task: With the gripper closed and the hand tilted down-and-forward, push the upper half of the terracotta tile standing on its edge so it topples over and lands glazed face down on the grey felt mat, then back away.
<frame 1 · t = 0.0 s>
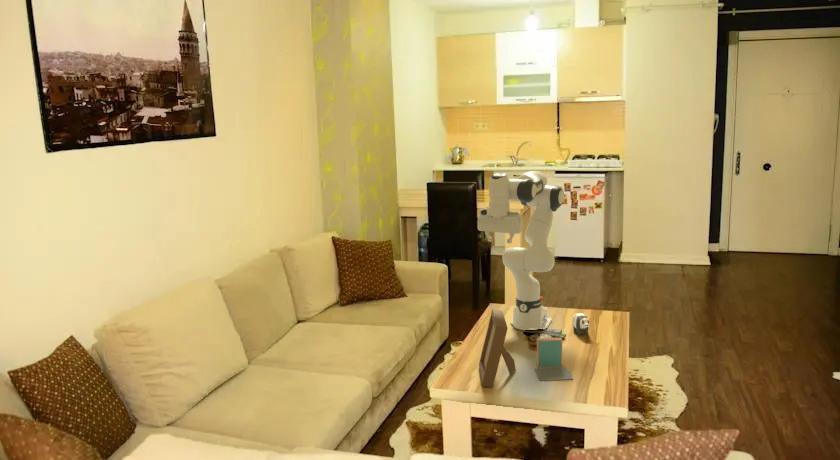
hand: (499, 242, 302), 48 cm above the table, tool pointing down, fingers open, 8 cm apart
mat: (553, 374, 278), on the table
giant panda: (581, 333, 325), on the table
photo frame: (498, 376, 278), on the table
tile: (549, 366, 286), on the table
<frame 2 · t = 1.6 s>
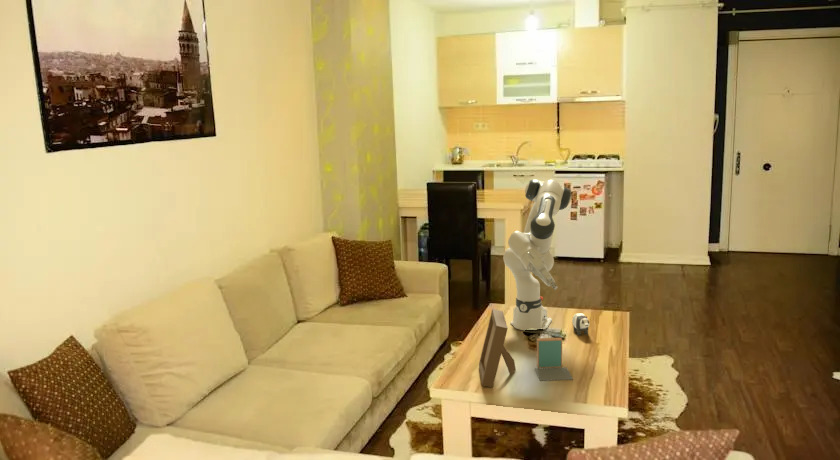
hand: (553, 283, 282), 35 cm above the table, tool tilted 60°, fingers open, 8 cm apart
nothing on the table moved.
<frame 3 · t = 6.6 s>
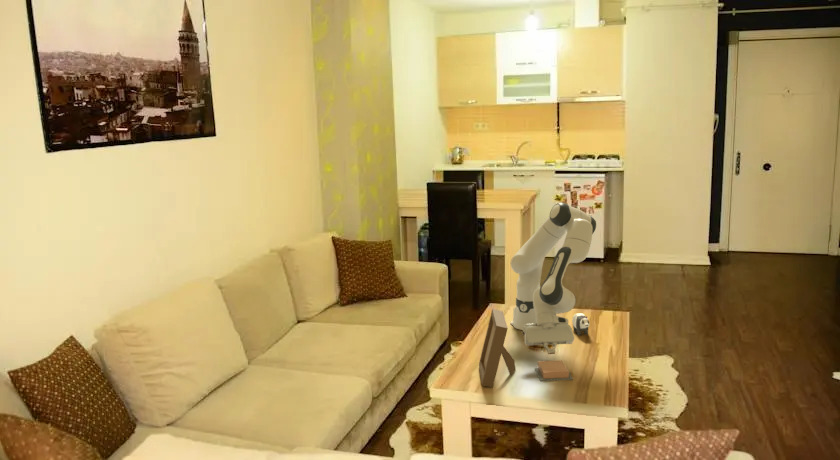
hand: (551, 353, 283), 7 cm above the table, tool tilted 45°, fingers closed
tile: (550, 363, 285), point 2 cm above the table, tilted 90°, touching mat
everything else where it was.
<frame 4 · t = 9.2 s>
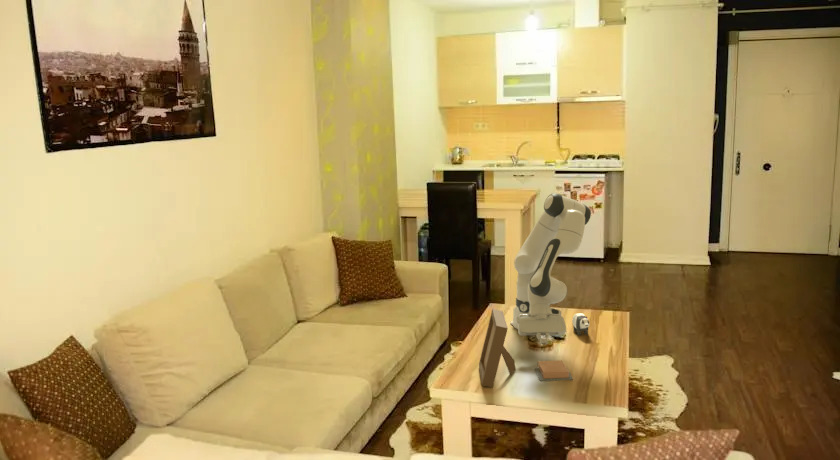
hand: (543, 343, 291), 8 cm above the table, tool tilted 45°, fingers closed
nothing on the table moved.
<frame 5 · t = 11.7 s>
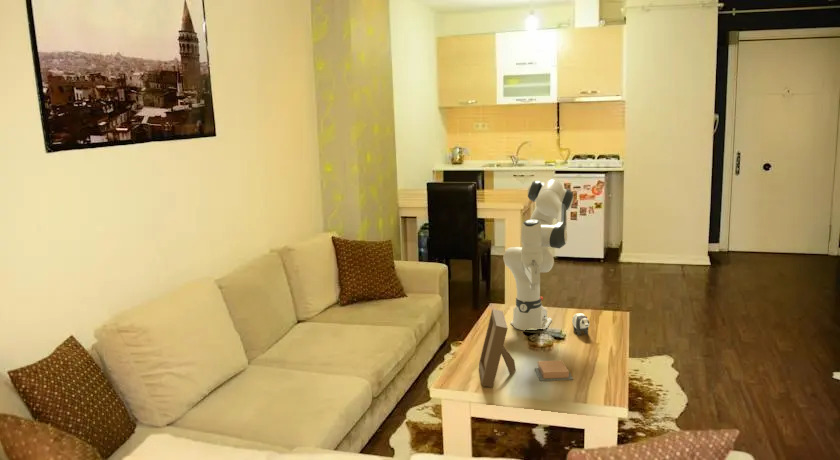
hand: (532, 289, 296), 29 cm above the table, tool pointing down, fingers closed
nothing on the table moved.
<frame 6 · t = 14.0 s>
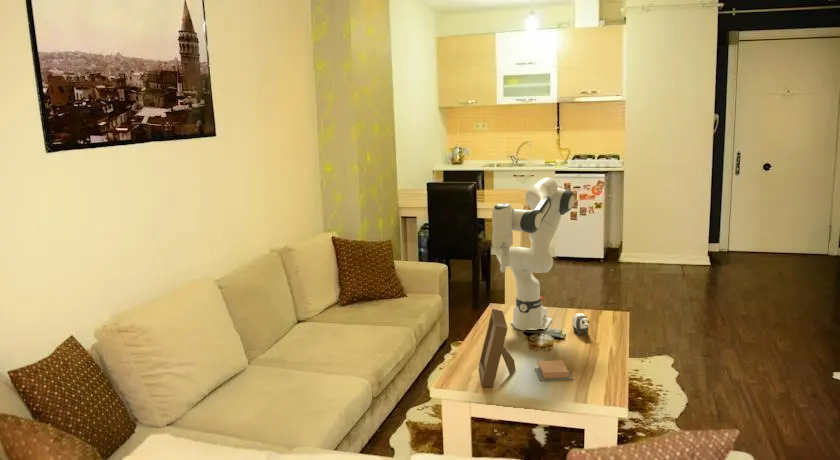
hand: (502, 271, 303), 35 cm above the table, tool pointing down, fingers closed
nothing on the table moved.
at the end: tile tilted 90°; tile inside the target area (1.6 cm from its centre), point 1.7 cm above the table; tile touching mat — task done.
